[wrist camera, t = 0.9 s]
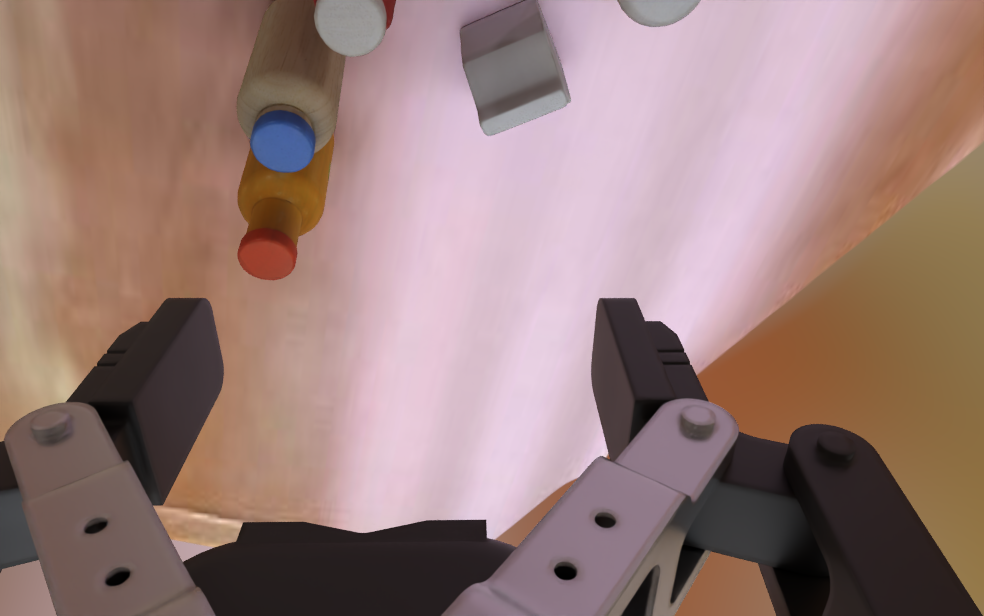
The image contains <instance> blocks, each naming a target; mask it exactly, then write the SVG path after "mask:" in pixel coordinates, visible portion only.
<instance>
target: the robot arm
mask: <svg viewBox="0 0 984 616" xmlns="http://www.w3.org/2000/svg"><path fill="white" fill-rule="evenodd" d="M223 376H224V367H223V360H222V355H221V350H220V345H219V340H218V335H217V331H216V326H215V321H214V316H213V311H212V307H211V304H210V302H209V301H208V300H207V299H206V298H168V299H166V300H165V301H164V302H163V304H162V305H161V306H160V308H159V309H158V310H157V311H156V313H155V314H154V315H153V317H152V318H151V319H150V321H149V322H140V323H138V324H137V325H135V326H133V327H132V328H130V329H129V330H127V331H126V332H124V333H122V334H121V335H119V337H118V338H117V339H116V340H115V342H114V343H113V344H112V345H111V347H110V348H109V349H108V350H107V354H104V355H103V356H102V358H101V359H100V360H99V361H98V363H97V366H94V368H93V369H92V370H91V371H90V373H89V374H88V375H87V376H86V378H85V379H84V380H83V381H82V383H81V384H80V385H79V386H78V388H77V389H76V390H75V391H74V393H73V394H72V395H71V396H70V398H69V399H68V400H67V401H66V402H65V403H58V404H53V405H49V406H46V407H43V408H40V409H37V410H35V411H33V412H31V413H29V414H27V415H25V416H24V417H22V418H21V419H19V420H18V421H16V422H15V423H14V424H13V425H12V426H11V427H10V428H9V430H8V431H7V433H6V435H5V438H4V441H2V442H0V572H1V570H2V569H4V568H8V567H12V566H16V565H20V564H24V563H28V562H32V561H36V560H39V561H40V564H41V567H42V571H43V573H44V577H45V580H46V583H47V586H48V589H49V592H50V596H51V599H52V602H53V605H54V608H55V611H56V615H57V616H674V615H675V613H676V612H677V610H678V608H679V606H680V605H681V603H682V601H683V599H684V598H685V596H686V594H687V592H688V591H689V589H690V587H691V586H692V584H693V582H694V580H695V579H696V577H697V575H698V573H699V571H700V570H701V568H702V567H703V565H704V563H705V561H706V559H707V558H708V556H709V554H710V552H711V551H712V552H716V553H720V554H724V555H727V556H731V557H735V558H739V559H744V560H747V561H752V562H756V563H758V565H759V568H760V571H761V574H762V576H763V579H764V582H765V585H766V588H767V590H768V593H769V596H770V599H771V602H772V604H773V607H774V610H775V613H776V616H983V615H982V614H981V612H980V611H979V609H978V608H977V606H976V604H975V603H974V601H973V600H972V598H971V597H970V595H969V594H968V592H967V590H966V589H965V587H964V586H963V584H962V583H961V581H960V580H959V578H958V577H957V575H956V573H955V572H954V570H953V569H952V567H951V566H950V564H949V563H948V561H947V559H946V558H945V556H944V555H943V553H942V552H941V550H940V549H939V547H938V546H937V544H936V542H935V541H934V539H933V538H932V536H931V535H930V533H929V532H928V530H927V529H926V527H925V525H924V524H923V522H922V521H921V519H920V518H919V516H918V515H917V513H916V512H915V510H914V509H913V507H912V505H911V504H910V502H909V501H908V499H907V498H906V496H905V494H904V493H903V491H902V490H901V488H900V487H899V485H898V484H897V482H896V481H895V479H894V477H893V476H892V474H891V473H890V471H889V470H888V468H887V467H886V465H885V464H884V462H883V461H882V459H881V457H880V456H879V454H878V453H877V451H876V450H875V449H874V447H873V446H872V445H870V444H869V443H868V442H867V441H866V440H864V439H863V438H861V437H860V436H858V435H856V434H854V433H852V432H850V431H848V430H845V429H843V428H839V427H836V426H831V425H823V424H811V425H805V426H802V427H800V428H798V429H796V430H795V431H794V432H793V433H792V435H791V437H790V441H789V444H785V443H780V442H775V441H770V440H766V439H760V438H757V437H753V436H749V435H747V434H744V433H741V432H739V428H738V424H737V422H736V420H735V419H734V418H733V416H732V415H731V414H730V413H728V412H727V411H726V410H724V409H723V408H721V407H719V406H717V405H715V404H713V403H710V402H709V401H708V399H707V397H706V395H705V393H704V391H703V388H702V386H701V384H700V382H699V380H698V378H697V376H696V374H695V372H694V369H693V367H692V365H690V361H689V359H688V357H687V355H686V353H684V348H683V346H682V344H681V342H680V340H679V338H678V336H677V334H676V333H674V332H673V331H672V330H671V329H669V328H668V327H667V326H666V325H665V324H663V323H662V322H661V321H645V320H644V317H643V315H642V312H641V310H640V308H639V305H638V303H637V301H636V299H635V298H600V299H599V301H598V304H597V311H596V321H595V332H594V342H593V352H592V364H591V377H592V388H593V393H594V397H595V401H596V405H597V409H598V413H599V417H600V421H601V425H602V429H603V433H604V437H605V441H606V445H607V449H608V453H609V457H610V459H607V458H605V457H603V456H600V457H598V458H596V459H595V460H594V461H593V462H592V463H591V464H590V465H589V466H588V468H587V469H586V470H585V471H584V472H583V473H582V474H581V476H580V477H579V478H578V479H577V480H576V481H575V482H574V483H573V485H572V486H571V487H570V488H569V489H568V490H567V491H566V492H565V494H564V495H563V496H562V497H561V498H560V499H559V500H558V502H557V503H556V504H555V505H554V506H553V507H552V509H550V511H549V512H548V513H547V514H546V515H545V516H544V517H543V519H542V520H541V521H540V522H539V523H538V524H537V525H536V526H535V527H534V529H533V530H532V531H531V532H530V533H529V534H528V535H527V537H526V538H525V539H524V540H523V541H522V542H521V543H520V545H519V546H518V547H514V546H512V545H510V544H507V543H504V542H500V541H497V540H493V539H488V538H487V531H486V520H427V521H422V522H417V523H412V524H408V525H403V526H398V527H393V528H389V529H384V530H379V531H374V532H369V533H357V532H352V531H347V530H342V529H337V528H332V527H327V526H322V525H317V524H312V523H307V522H243V525H242V527H241V530H240V533H239V536H238V538H237V541H236V542H232V543H228V544H225V545H221V546H218V547H215V548H212V549H210V550H207V551H205V552H202V553H200V554H198V555H196V556H194V557H192V558H190V559H188V560H186V561H184V562H182V560H181V558H180V556H179V554H178V552H177V550H176V549H175V547H174V545H173V543H172V541H171V539H170V537H169V535H168V534H167V532H166V530H165V528H164V526H163V524H162V522H161V520H160V519H159V517H158V515H157V513H156V511H155V509H154V507H153V505H163V504H164V502H165V500H166V498H167V496H168V494H169V492H170V490H171V488H172V486H173V484H174V482H175V480H176V478H177V476H178V474H179V472H180V470H181V468H182V466H183V464H184V462H185V460H186V458H187V456H188V454H189V452H190V451H191V449H192V447H193V445H194V443H195V441H196V439H197V437H198V435H199V433H200V431H201V429H202V427H203V425H204V423H205V421H206V419H207V417H208V415H209V413H210V411H211V409H212V407H213V405H214V403H215V401H216V399H217V397H218V395H219V393H220V391H221V388H222V384H223Z"/></svg>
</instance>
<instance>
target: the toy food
mask: <svg viewBox="0 0 984 616" xmlns="http://www.w3.org/2000/svg"><path fill="white" fill-rule="evenodd" d="M700 1H701V0H618V2H619V4H620V6H621V9H622V10H623V11H624V12H625V13H626V14H627V16H628V17H629V18H631V19H632V20H633V21H635V22H637V23H639V24H641V25H645V26H649V27H661V26H667V25H670V24H673V23H675V22H677V21H679V20H681V19H683V18H684V17H686V16H687V15H688V14H689V13H690V12H691V11H692V10H693V9H694V8H695V7H696V6H697V5H698V3H699V2H700ZM395 3H396V0H275V1H274V2H273V3H272V4H271V5H270V6H269V8H268V9H267V11H266V12H265V14H264V16H263V19H262V22H261V25H260V29H259V32H258V35H257V38H256V41H255V45H254V48H253V51H252V54H251V57H250V60H249V63H248V66H247V70H246V73H245V76H244V79H243V82H242V85H241V88H240V91H239V94H238V97H237V116H238V120H239V123H240V125H241V127H242V129H243V131H244V133H245V134H246V135H247V137H248V138H249V139H250V146H251V148H250V151H249V154H248V158H247V161H246V165H245V168H244V171H243V175H242V178H241V182H240V186H239V189H238V206H239V209H240V211H241V213H242V215H243V217H244V219H245V220H246V221H247V222H248V224H249V226H248V229H247V233H246V234H245V236H244V237H243V238H242V240H241V243H240V246H239V249H238V260H239V262H240V265H241V266H242V268H243V269H244V270H245V271H246V272H248V273H249V274H250V275H252V276H254V277H257V278H260V279H265V280H277V279H281V278H284V277H286V276H287V275H289V274H290V273H291V272H292V270H293V269H294V267H295V263H296V258H297V248H296V247H297V242H298V237H299V236H301V235H303V234H305V233H307V232H309V231H310V230H312V229H313V228H314V227H315V226H316V225H317V224H318V222H319V220H320V218H321V217H322V214H323V211H324V205H325V199H326V192H327V186H328V179H329V173H330V166H331V160H332V154H333V147H334V135H333V132H334V130H335V127H336V122H337V114H338V107H339V100H340V93H341V86H342V79H343V72H344V64H345V57H346V56H349V57H355V56H361V55H365V54H368V53H369V52H371V51H373V50H374V49H375V48H376V47H377V46H378V45H379V44H380V43H381V41H382V39H383V37H384V35H385V31H386V29H388V28H389V27H390V25H391V22H392V19H393V13H394V7H395ZM460 40H461V54H462V63H463V68H464V71H465V74H466V77H467V80H468V83H469V86H470V89H471V92H472V95H473V98H474V101H475V104H476V108H477V111H478V117H479V123H480V126H481V128H482V130H483V132H484V133H485V134H486V135H487V136H491V135H495V134H497V133H500V132H503V131H505V130H508V129H510V128H513V127H515V126H518V125H520V124H523V123H525V122H528V121H530V120H533V119H536V118H538V117H541V116H543V115H546V114H548V113H551V112H553V111H556V110H558V109H561V108H563V107H565V106H566V105H567V104H568V103H570V101H571V98H570V94H569V90H568V86H567V83H566V79H565V75H564V71H563V68H562V64H561V62H560V59H559V56H558V54H557V51H556V48H555V46H554V43H553V40H552V38H551V35H550V33H549V30H548V27H547V25H546V22H545V19H544V17H543V14H542V12H541V9H540V6H539V4H538V1H537V0H525V1H523V2H521V3H518V4H516V5H514V6H511V7H509V8H506V9H504V10H502V11H499V12H497V13H495V14H493V15H490V16H488V17H486V18H483V19H481V20H478V21H476V22H474V23H471V24H469V25H467V26H465V27H463V28H462V29H461V30H460Z"/></svg>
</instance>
